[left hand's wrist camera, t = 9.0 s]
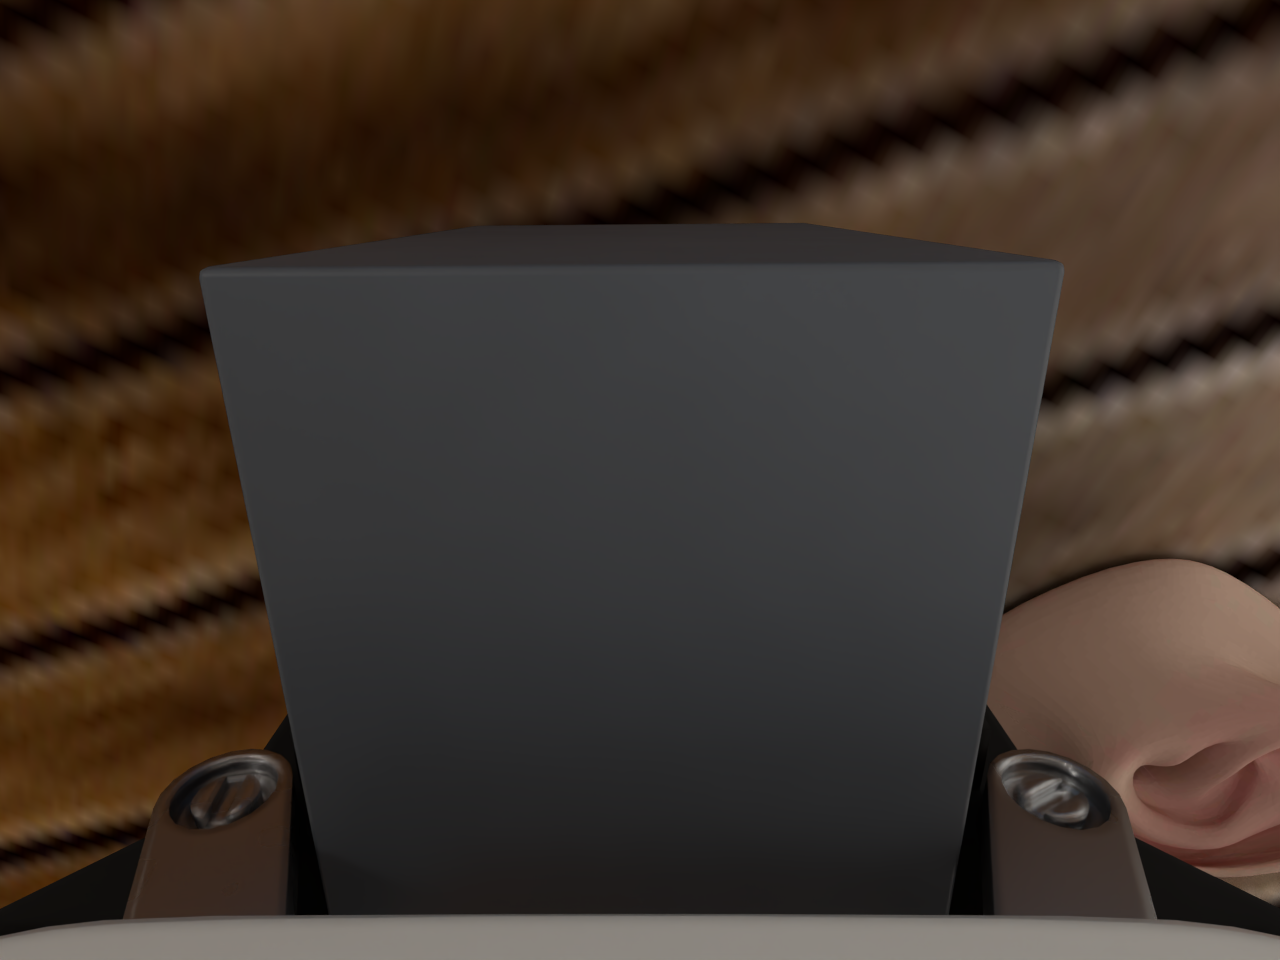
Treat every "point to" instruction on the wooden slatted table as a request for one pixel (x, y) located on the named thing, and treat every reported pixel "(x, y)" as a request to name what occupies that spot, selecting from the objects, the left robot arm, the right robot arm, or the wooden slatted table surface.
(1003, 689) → the anatomical model
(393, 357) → the beam
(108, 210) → the wooden slatted table surface
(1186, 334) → the wooden slatted table surface
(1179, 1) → the wooden slatted table surface
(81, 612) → the wooden slatted table surface
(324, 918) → the left robot arm
